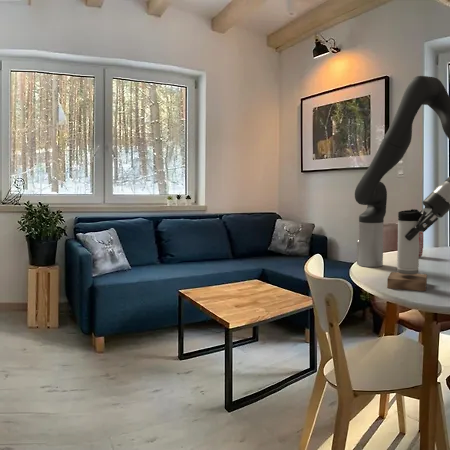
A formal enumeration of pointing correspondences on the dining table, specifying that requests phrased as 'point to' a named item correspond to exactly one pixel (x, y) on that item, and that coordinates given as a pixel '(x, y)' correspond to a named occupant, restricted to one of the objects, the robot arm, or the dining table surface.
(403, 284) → the walnut stand
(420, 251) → the soda can
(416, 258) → the travel mug
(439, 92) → the robot arm
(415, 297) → the dining table surface
